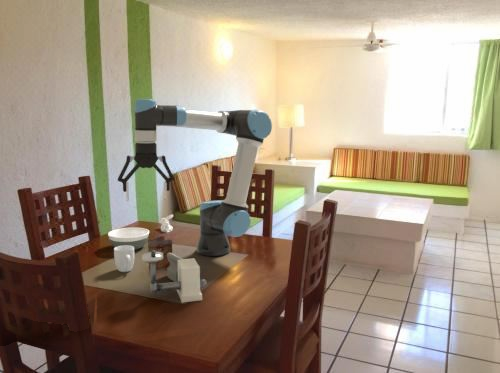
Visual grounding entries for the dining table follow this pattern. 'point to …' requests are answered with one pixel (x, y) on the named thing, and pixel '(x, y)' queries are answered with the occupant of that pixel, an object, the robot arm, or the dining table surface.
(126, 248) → the mug
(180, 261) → the white upright block
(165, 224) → the rabbit figurine
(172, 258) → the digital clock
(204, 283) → the l-shaped grey rod
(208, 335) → the dining table surface
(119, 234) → the bowl
